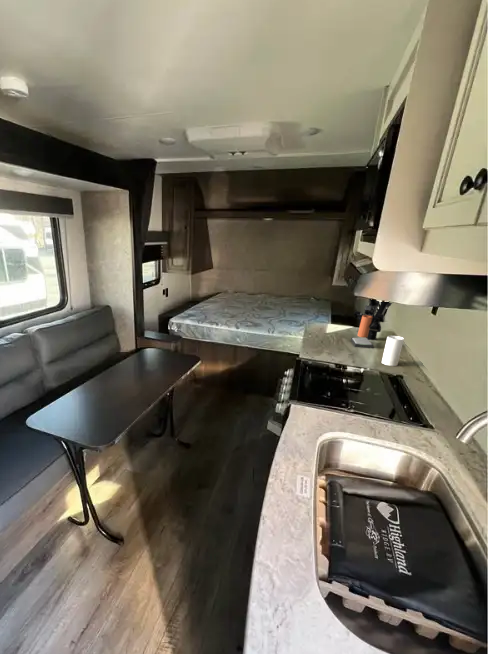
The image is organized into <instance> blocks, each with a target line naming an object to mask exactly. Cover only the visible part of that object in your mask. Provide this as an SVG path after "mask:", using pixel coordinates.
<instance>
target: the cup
mask: <svg viewBox="0 0 488 654" xmlns="http://www.w3.org/2000/svg"><path fill="white" fill-rule="evenodd" d="M404 340H405V338H404V337H403V336H398V335H387V337H386V341H385V345H384V350H383V354H382V359H381V364H383V365H385V366H388V367H389V366H390V367H396V366H398V364H399V361H400V356H401V352H402V348H403V345H404Z"/></svg>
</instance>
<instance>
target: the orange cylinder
mask: <svg viewBox="0 0 488 654" xmlns="http://www.w3.org/2000/svg"><path fill="white" fill-rule="evenodd" d="M372 318H373V317H372V316H369V315H362V319H361V323H360V326H359V327H358V332H357V337H358V338H365V339H367V338H366V337H368V333H369V329H370V328H369V326H370V324H371V321H372Z"/></svg>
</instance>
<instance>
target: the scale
mask: <svg viewBox="0 0 488 654" xmlns="http://www.w3.org/2000/svg"><path fill="white" fill-rule="evenodd" d="M350 342H351V344H352V345H353V346H354V347H355V348H364V349H365V348H366V349H373V348H374V344H373V343H372V342H371V340H368V339H367V338H363V337H351V338H350Z"/></svg>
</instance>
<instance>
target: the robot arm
mask: <svg viewBox="0 0 488 654" xmlns="http://www.w3.org/2000/svg"><path fill="white" fill-rule="evenodd" d="M368 303H369V304H368V305H367V304H366V305H365V306H364V309H363V311H364V313H363V312H362V311H360V310H355V311H354V312H353V318H354V319H357V320H358V326H359V327H360V323H361V319H362V315H369V316H372V317H373V318H372V321H371V324H370V326H369V328H370V329H369V333H368V337H366V338H365V339H368V340H369V341H378V338H377V335H378V333H381V331H382V324H381V323H384V322H385V320H386V319H385V318H386V317H385V312H386V310H387V308H389V307H390V306H391V305H393V303H389V302H380V301H376V300H371V299H368Z"/></svg>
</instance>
